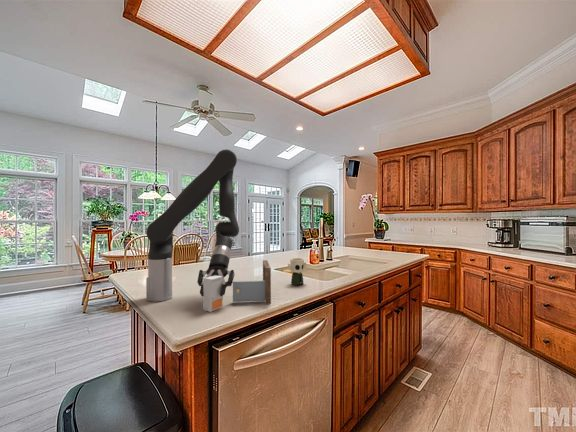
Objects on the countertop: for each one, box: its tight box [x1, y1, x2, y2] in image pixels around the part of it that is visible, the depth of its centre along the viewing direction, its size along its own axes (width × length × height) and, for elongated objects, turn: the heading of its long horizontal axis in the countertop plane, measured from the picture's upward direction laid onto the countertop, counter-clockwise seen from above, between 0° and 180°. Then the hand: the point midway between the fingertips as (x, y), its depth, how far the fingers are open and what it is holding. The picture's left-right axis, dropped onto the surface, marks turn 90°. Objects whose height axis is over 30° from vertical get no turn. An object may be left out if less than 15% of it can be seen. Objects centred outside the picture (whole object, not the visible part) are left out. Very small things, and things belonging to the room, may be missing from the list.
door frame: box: [262, 259, 272, 305], centre depth 112 cm, size 2×19×14 cm, turn 9°
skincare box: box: [202, 275, 224, 313], centre depth 98 cm, size 6×4×12 cm
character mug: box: [287, 257, 307, 286], centre depth 132 cm, size 11×7×13 cm, turn 119°
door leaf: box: [232, 280, 266, 303], centre depth 104 cm, size 3×14×8 cm, turn 94°
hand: (211, 295), depth 96 cm, fingers closed on skincare box, 6 cm apart
